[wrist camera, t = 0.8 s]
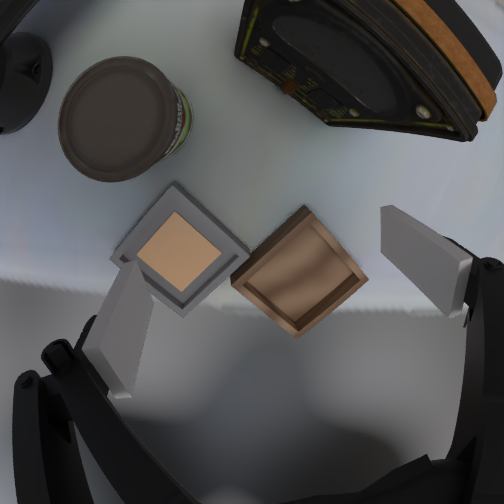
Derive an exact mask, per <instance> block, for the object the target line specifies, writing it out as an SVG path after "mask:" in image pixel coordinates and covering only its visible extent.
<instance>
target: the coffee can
mask: <svg viewBox="0 0 504 504" xmlns="http://www.w3.org/2000/svg"><path fill="white" fill-rule="evenodd" d="M192 124H193V111H192V107H191V104H190V102H189V100H188V98H187V96H186V95H185V94H184V92H183V91H182V90H180V89H179V88H178V87H176V86H175V85H174V84H172V83H171V82H170V81H169V80H168V79H167V78H166V76H165V75H164V74H163V73H162V72H161V71H160V70H159V69H158V68H157V67H155V66H154V65H153V64H151V63H149V62H147V61H145V60H143V59H140V58H136V57H130V56H120V57H112V58H109V59H105V60H102V61H100V62H98V63H96V64H94V65H92V66H91V67H89V68H88V69H86V70H85V71H84V72H83V73H82V74H81V75H80V76H79V77H77V79H76V80H75V81H74V82H73V83H72V85H71V86H70V88H69V89H68V91H67V93H66V95H65V97H64V99H63V102H62V105H61V108H60V112H59V118H58V135H59V140H60V144H61V147H62V150H63V152H64V154H65V156H66V157H67V159H68V160H69V162H70V163H71V164H72V165H73V166H74V167H75V168H76V169H77V170H78V171H79V172H81V173H82V174H83V175H85V176H87V177H89V178H91V179H94V180H97V181H101V182H120V181H125V180H128V179H131V178H134V177H136V176H138V175H140V174H142V173H143V172H145V171H146V170H148V169H149V168H150V167H151V166H153V165H154V164H155V163H157V162H159V161H161V160H162V159H165V158H167V157H169V156H171V155H173V154H174V153H175V152H177V151H178V150H179V149H180V148H181V147H182V146H183V145H184V143H185V142H186V140H187V139H188V137H189V135H190V132H191V129H192Z"/></svg>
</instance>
